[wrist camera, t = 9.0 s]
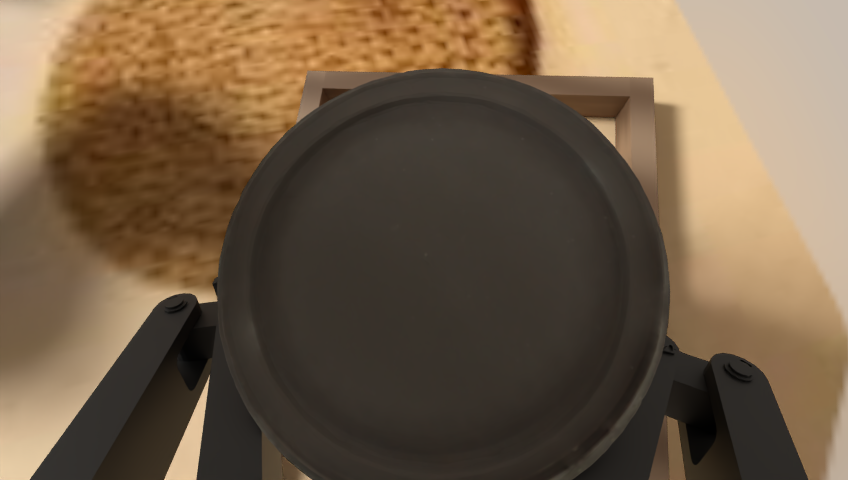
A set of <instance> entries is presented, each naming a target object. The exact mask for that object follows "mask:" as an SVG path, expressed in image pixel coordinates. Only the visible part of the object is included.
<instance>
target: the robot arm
mask: <svg viewBox="0 0 848 480" xmlns="http://www.w3.org/2000/svg"><path fill="white" fill-rule="evenodd" d="M217 281H218V277H216V278H215V279H214V281H213V283H212V284H213V287H214V289H215V292H216V295H217ZM209 375H210V379H209V387H208V395H207V402H206V410H205V418H204V426H203V433H202V441H201V449H200V457H199V464H198V472H197V480H283V473H282V455H281V453H280V452H279V451H278V450H277V448H276V447H275V446H274V445H273V444H272V443H271V442H270V441H269V440H268V438H267V437H266V436H265V434H264V433H263V432H262V430H261V429H260V428H259V426H258V425H257V423H256V422H255V420H254V419H253V417H252V416H251V414H250V413H249V411H248V410H247V408H246V406H245V404H244V402H243V400H242V398H241V396H240V394H239V392H238V390H237V388H236V385H235V382H234V379H233V377H232V375H231V373H230V370H229V367H228V364H227V361H226V357H225V353H224V349H223V345H222V341H221V337H220V333H219V321H218V301H217V302H209V303H200V304H199V303H198V300H197V298H196V296H195V295H192V294H185V293H183V294H178V295H174V296H171V297H169V298H166V299H165V300H163V301H161V302H160V303H159V304H158V305H157V306H156V307H155V308H154V309H153V311H152V312H151V313H150V315H149V316H148V318H147V319H146V320H145V322H144V323H143V325H142V326H141V327H140V329H139V330H138V331H137V333H136V334H135V336H134V337H133V338H132V340H131V341H130V342H129V344H128V345H127V347H126V348H125V349H124V351H123V352H122V353H121V355H120V356H119V358H118V359H117V360H116V362H115V363H114V364H113V366H112V367H111V369H110V370H109V371H108V373H107V374H106V375H105V377H104V378H103V380H102V381H101V382H100V384H99V385H98V386H97V388H96V389H95V391H94V392H93V393H92V395H91V396H90V397H89V399H88V400H87V402H86V403H85V404H84V406H83V407H82V408H81V410H80V411H79V413H78V414H77V415H76V417H75V418H74V419H73V421H72V422H71V424H70V425H69V426H68V428H67V429H66V430H65V432H64V433H63V435H62V436H61V437H60V439H59V440H58V442H57V443H56V444H55V446H54V447H53V448H52V450H51V451H50V453H49V454H48V455H47V457H46V458H45V459H44V461H43V462H42V464H41V465H40V466H39V468H38V469H37V470H36V472H35V473H34V475H33V476H32V477H31V479H30V480H164V478H165V476H166V474H167V471H168V469H169V467H170V464H171V462H172V460H173V458H174V455H175V453H176V451H177V448H178V446H179V444H180V442H181V439H182V437H183V435H184V432H185V430H186V428H187V426H188V423H189V421H190V419H191V416H192V414H193V412H194V409H195V407H196V405H197V403H198V400H199V398H200V396H201V393H202V391H203V389H204V387H205V384H206V382H207V380H208V377H209ZM665 415H666V416H669V417H671V418H674V419H676V420H678V426H679V433H680V440H681V447H682V454H683V461H684V469H685V476H686V480H808V478H807V475H806V473H805V470H804V468H803V465H802V463H801V460H800V458H799V456H798V453H797V451H796V448H795V446H794V443H793V441H792V438H791V436H790V433H789V431H788V429H787V426H786V424H785V421H784V419H783V416H782V414H781V411H780V409H779V406H778V404H777V401H776V399H775V397H774V394H773V392H772V389H771V387H770V384H769V382H768V380H767V378H766V377H765V375H764V374H763V372H762V371H761V370H759V369H758V368H757V367H756V366H755V365H753V364H752V363H750V362H748V361H747V360H745V359H743V358H740V357H738V356H735V355H732V354H726V353H720V354H715V355H714V356H713V357H712V358H711V359H710V361H709V362H708V361H705V360H702V359H699V358H696V357H693V356H690V355H687V354H685V353H682V352H680V351H679V348H678V347H677V345H676V344H675V342H673V341H672V340H671V339H670V338H669V337H667V336H666V338H665V342H664V348H663V352H662V356H661V359H660V362H659V365H658V367H657V370H656V372H655V375H654V378H653V380H652V383H651V385H650V387H649V389H648V391H647V393H646V395H645V397H644V398H643V399H642V402H641V405H640V406H639V408H638V410H637V412H636V413H635V415H634V416H633V417H632V419H631V420H630V421H629V423H628V425H627V426H626V428H625V429H624V431H623V432H622V433H621V434H620V435H619V437H618V438H617V439H616V440H615V441H614V442H613V443H612V444H611V446H610V447H609V448H608V450H607V451H606V452H605V453H604V454H602V455H601V456H600V457H599V458H598V459H597V460H596V461H595V462H594V463H593V464H592V465H591V466H590V467H588V468H587V469H586V470H584V471H583V472H582V473H580V474H579V475H578V476H576V477H575V478H574V479H572V480H649V477H650V472H651V468H652V464H653V460H654V456H655V452H656V448H657V444H658V440H659V436H660V432H661V428H662V424H663V420H664V416H665Z"/></svg>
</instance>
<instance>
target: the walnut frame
mask: <svg viewBox="0 0 848 480" xmlns="http://www.w3.org/2000/svg"><path fill="white" fill-rule="evenodd" d="M394 74H396V73H390V72H340V71H307V76H306V81H305V85H304V90H303V95H302V99H301V104H300V108H299V113H298V118H297V122H296V124H297V123H298V122H299V121H300V120H301V119H302V118H304V117H305V116H306V115H308V114H309V113H310V112H312V111H313V110H315V109H316V108H318V107H319V106H321V105H323V104H324V103H326V102H327V101H329V100H331V99H333V98H335V97H337V96H339V95H341V94H342V93H344V92H347V91H349V90H351V89H354V88H356V87H358V86H360V85H363V84H365V83H368V82H370V81H373V80H377V79H380V78H384V77H388V76H391V75H394ZM497 76H501V77H505V78H508V79H512V80H515V81H518V82H521V83H524V84H527V85H530V86H532V87H535V88H537V89H539V90H541V91H544V92H546V93H548V94H550V95H552V96H553V97H555V98H556V99H558V100H560V101H561V102H563V103H564V104H566V105H568V106H569V107H571V108H572V109H574V110H576V111H577V112H578V113H579V114H580V115H582V116H589V117H615V121H616V149H617V151H618V152H619V153H620V155H621V156H622V157H623V158H624V159H625V161H626V162H627V163H628V165H629V166H630V168H631V169H632V171H633V172H634V174H635V175H636V177H637V178H638V180H639V181H640V183H641V186H642V188H643V190H644V192H645V194H646V196H647V197H648V200H649V202H650V204H651V207H652V209H653V211H654V214H655V216H656V219H657V222H658V224H659V211H658V186H657V161H656V136H655V111H654V86H653V78H637V77H587V76H538V75H497ZM649 480H669V461H668V436H667V416H666V415H665V416H664V420H663V424H662V428H661V432H660V436H659V440H658V444H657V448H656V452H655V456H654V460H653V464H652V468H651V472H650V477H649Z"/></svg>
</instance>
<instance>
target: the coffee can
mask: <svg viewBox="0 0 848 480" xmlns="http://www.w3.org/2000/svg"><path fill="white" fill-rule="evenodd" d="M217 300H218V321H219V333H220V337H221V341H222V345H223V349H224V353H225V357H226V361H227V364H228V367H229V370H230V373H231V375H232V377H233V379H234V382H235V385H236V388H237V390H238V392H239V394H240V396H241V398H242V400H243V402H244V404H245V406H246V408H247V410H248V411H249V413H250V414H251V416H252V417H253V419H254V420H255V422H256V423H257V425H258V426H259V428H260V429H261V430H262V432H263V433H264V434H265V436H266V437H267V438H268V440H269V441H270V442H271V443H272V444H273V445H274V446H275V447H276V448H277V450H278V451H279V452H280V453H281V454H282V455H283V456H284V457H285V458H286V459H287V460H289V461H290V462H291V463H292V464H293V465H294V466H296V467H297V468H298V469H299V470H300V471H302V472H303V473H304V474H305V475H307V476H308V477H309V478H311V479H312V480H572V479H574V478H575V477H576V476H578V475H579V474H580V473H582V472H583V471H584V470H586V469H587V468H588V467H590V466H591V465H592V464H593V463H594V462H595V461H596V460H597V459H598V458H599V457H600V456H601V455H602V454H604V453H605V452H606V451H607V450H608V448H609V447H610V446H611V444H612V443H613V442H614V441H615V440H616V439H617V438H618V437H619V435H620V434H621V433H622V432H623V431H624V429H625V428H626V426H627V425H628V423H629V421H630V420H631V419H632V417H633V416H634V415H635V413H636V412H637V410H638V408H639V406H640V405H641V402H642V399H643V398H644V397H645V395H646V393H647V391H648V389H649V387H650V385H651V383H652V380H653V378H654V375H655V372H656V370H657V367H658V365H659V362H660V359H661V356H662V352H663V348H664V342H665V338H666V334H667V327H668V317H669V304H670V284H669V272H668V262H667V255H666V251H665V246H664V241H663V236H662V233H661V230H660V227H659V224H658V222H657V219H656V216H655V214H654V211H653V209H652V207H651V204H650V202H649V200H648V197H647V196H646V194H645V192H644V190H643V188H642V186H641V183H640V181H639V180H638V178H637V177H636V175H635V174H634V172H633V171H632V169H631V168H630V166H629V165H628V163H627V162H626V161H625V159H624V158H623V157H622V156H621V155H620V153H619V152H618V151H617V149H616V148H615V147H614V146H613V145H612V144H611V143H610V141H609V140H608V139H607V138H606V137H605V136H604V135H603V134H602V133H601V132H600V131H599V130H598V129H597V128H596V127H595V126H594V125H593V124H592V123H591V122H589V121H588V120H587V119H586V118H584V117H583V116H582V115H580V114H579V113H578V112H577V111H576V110H574V109H572V108H571V107H569V106H568V105H566V104H564V103H563V102H561V101H560V100H558V99H556V98H555V97H553V96H552V95H550V94H548V93H546V92H544V91H541V90H539V89H537V88H535V87H532V86H530V85H527V84H524V83H521V82H518V81H515V80H512V79H508V78H505V77H501V76H497V75H492V74H488V73H483V72H477V71H469V70H462V69H444V68H439V69H423V70H414V71H408V72H404V73H396V74H394V75H391V76H388V77H384V78H380V79H377V80H373V81H370V82H368V83H365V84H363V85H360V86H358V87H356V88H354V89H351V90H349V91H347V92H344V93H342V94H341V95H339V96H337V97H335V98H333V99H331V100H329V101H327V102H326V103H324V104H323V105H321V106H319V107H318V108H316V109H315V110H313V111H312V112H310V113H309V114H308V115H306V116H305V117H304V118H302V119H301V120H300V121H299V122H298V123H297V124H296V125H295V126H293V127H292V128H291V129H290V130H288V131H287V132H286V133H285V135H284V136H283V137H282V138H281V139H280V140H279V141H278V142H277V143H276V144H275V145H274V146H273V147H272V148H271V150H270V151H269V153H268V154H267V155H266V156H265V157H264V159H263V160H262V161H261V163H260V164H259V166H258V167H257V169H256V170H255V172H254V173H253V175H252V177H251V178H250V180H249V182H248V183H247V185H246V186H245V188H244V190H243V191H242V194H241V197H240V200H239V202H238V204H237V205H236V207H235V209H234V211H233V213H232V216H231V219H230V222H229V225H228V228H227V232H226V235H225V239H224V243H223V247H222V252H221V256H220V261H219V270H218V281H217Z"/></svg>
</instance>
